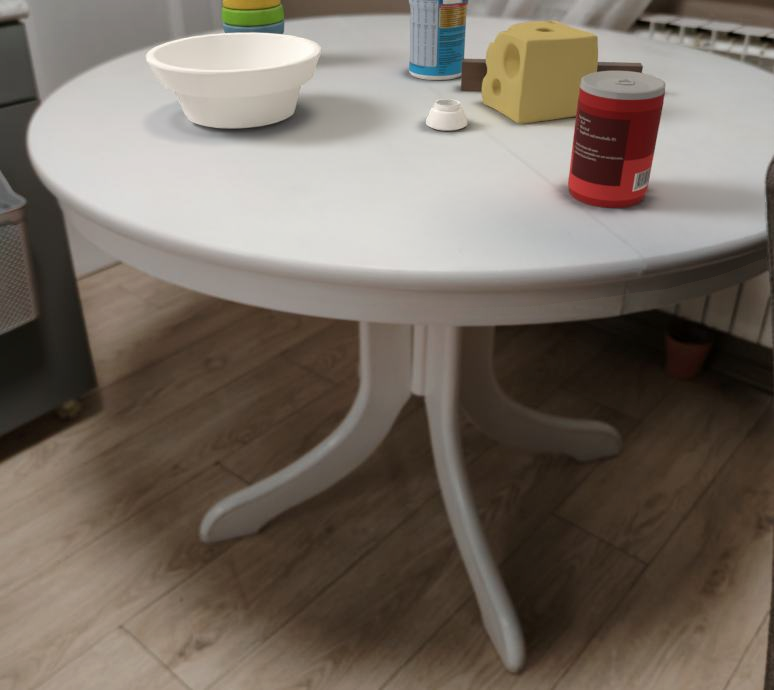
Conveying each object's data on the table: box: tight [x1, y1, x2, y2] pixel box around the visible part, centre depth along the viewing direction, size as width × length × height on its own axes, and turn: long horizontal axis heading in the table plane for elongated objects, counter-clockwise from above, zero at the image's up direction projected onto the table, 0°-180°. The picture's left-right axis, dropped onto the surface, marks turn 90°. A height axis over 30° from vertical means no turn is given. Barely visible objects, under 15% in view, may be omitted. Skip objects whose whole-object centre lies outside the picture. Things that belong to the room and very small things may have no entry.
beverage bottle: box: [408, 0, 469, 81], centre depth 114 cm, size 8×8×20 cm
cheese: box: [481, 20, 599, 125], centre depth 101 cm, size 10×11×10 cm
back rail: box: [460, 58, 644, 93], centre depth 110 cm, size 24×2×4 cm, turn 83°
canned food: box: [567, 71, 666, 209], centre depth 77 cm, size 8×8×11 cm
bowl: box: [145, 32, 323, 129], centre depth 100 cm, size 21×21×8 cm
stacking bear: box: [221, 0, 285, 34], centre depth 121 cm, size 11×10×18 cm
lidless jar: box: [425, 98, 468, 132], centre depth 97 cm, size 5×3×5 cm
